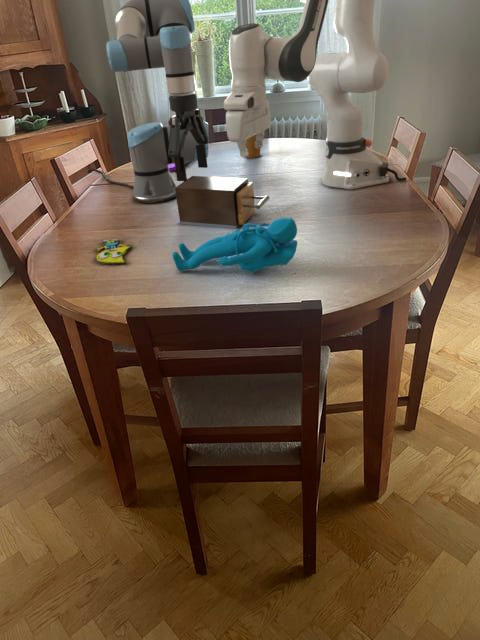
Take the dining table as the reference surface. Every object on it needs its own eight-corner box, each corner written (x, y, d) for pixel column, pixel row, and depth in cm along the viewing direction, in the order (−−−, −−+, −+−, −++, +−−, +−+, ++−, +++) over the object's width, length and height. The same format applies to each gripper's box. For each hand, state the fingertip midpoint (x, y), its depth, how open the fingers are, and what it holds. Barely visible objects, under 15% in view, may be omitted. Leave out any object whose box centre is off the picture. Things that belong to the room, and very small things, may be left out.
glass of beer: (264, 157, 198) (262, 127, 191) (241, 159, 198) (238, 129, 192) (263, 152, 206) (261, 122, 199) (241, 153, 206) (239, 124, 200)
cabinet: (250, 214, 146) (247, 178, 140) (236, 228, 137) (233, 190, 131) (196, 210, 152) (192, 175, 146) (180, 223, 143) (174, 187, 137)
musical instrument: (146, 176, 192) (194, 165, 189) (145, 171, 191) (193, 160, 188) (157, 164, 213) (201, 154, 210) (156, 159, 212) (200, 149, 209)
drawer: (271, 213, 142) (269, 183, 137) (259, 226, 134) (257, 194, 130) (204, 208, 150) (201, 180, 145) (190, 220, 142) (185, 191, 137)
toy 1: (135, 237, 135) (125, 260, 122) (135, 240, 135) (125, 263, 123) (99, 239, 135) (85, 263, 122) (100, 242, 135) (86, 266, 123)
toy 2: (183, 229, 122) (297, 202, 112) (198, 266, 128) (308, 242, 117) (161, 259, 109) (288, 230, 99) (178, 298, 114) (301, 275, 104)
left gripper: (190, 87, 139) (199, 162, 150) (146, 102, 119) (160, 186, 131) (214, 86, 136) (221, 162, 147) (172, 101, 117) (184, 187, 128)
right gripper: (255, 91, 134) (257, 142, 141) (220, 103, 119) (224, 160, 126) (275, 91, 131) (277, 143, 139) (242, 103, 116) (246, 162, 124)
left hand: (192, 173), depth 139 cm, fingers open, 13 cm apart
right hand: (251, 152), depth 132 cm, fingers open, 8 cm apart
